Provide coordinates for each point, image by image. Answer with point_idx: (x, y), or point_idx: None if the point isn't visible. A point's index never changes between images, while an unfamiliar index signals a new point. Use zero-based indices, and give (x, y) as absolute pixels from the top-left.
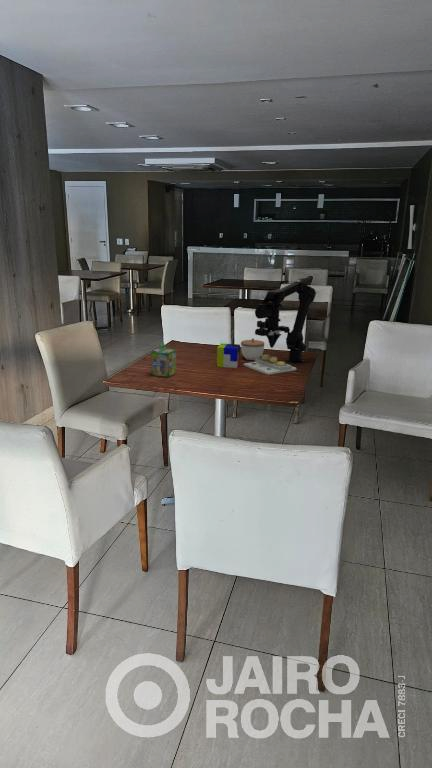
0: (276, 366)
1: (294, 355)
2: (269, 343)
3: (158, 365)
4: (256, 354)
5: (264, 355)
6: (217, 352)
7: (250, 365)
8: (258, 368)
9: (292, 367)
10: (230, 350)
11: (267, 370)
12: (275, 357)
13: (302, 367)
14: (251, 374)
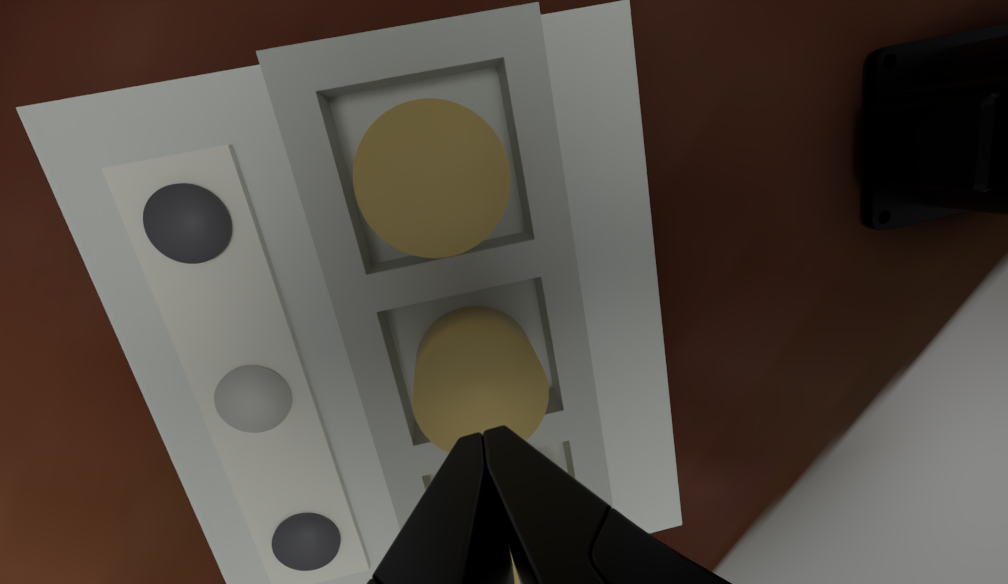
0: None
1: (979, 195)
2: (417, 515)
3: None
4: None
5: (397, 191)
6: None
7: (113, 265)
8: (188, 450)
9: (654, 494)
10: None
11: (269, 576)
12: (527, 396)
13: (802, 429)
14: (42, 574)
